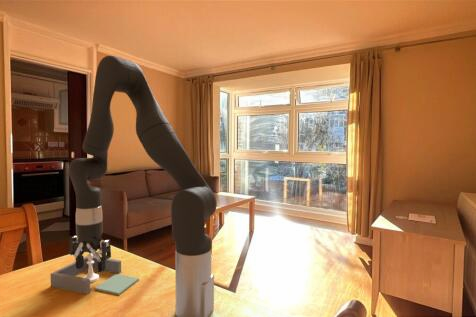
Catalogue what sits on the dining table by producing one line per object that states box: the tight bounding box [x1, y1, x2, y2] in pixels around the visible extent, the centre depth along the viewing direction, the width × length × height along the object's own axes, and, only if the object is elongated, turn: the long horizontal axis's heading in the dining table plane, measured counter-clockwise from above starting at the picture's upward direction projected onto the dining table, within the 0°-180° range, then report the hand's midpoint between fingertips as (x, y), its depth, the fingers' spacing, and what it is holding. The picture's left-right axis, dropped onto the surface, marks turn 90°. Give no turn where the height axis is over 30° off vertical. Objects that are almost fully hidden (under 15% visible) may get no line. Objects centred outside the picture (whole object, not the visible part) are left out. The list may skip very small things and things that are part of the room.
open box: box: [50, 255, 122, 295], centre depth 89 cm, size 14×14×4 cm
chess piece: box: [82, 252, 100, 284], centre depth 88 cm, size 5×5×10 cm
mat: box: [94, 273, 140, 296], centre depth 85 cm, size 9×9×1 cm
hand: (90, 269), depth 88 cm, fingers open, 8 cm apart
